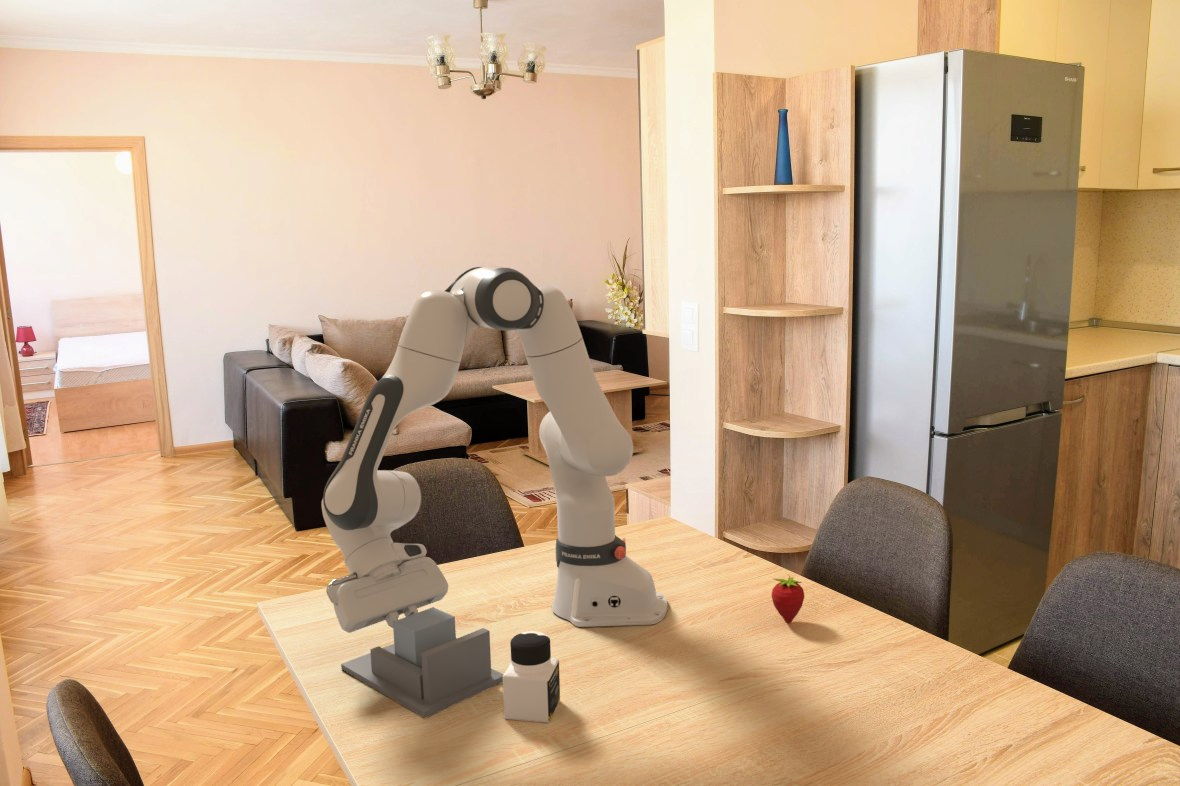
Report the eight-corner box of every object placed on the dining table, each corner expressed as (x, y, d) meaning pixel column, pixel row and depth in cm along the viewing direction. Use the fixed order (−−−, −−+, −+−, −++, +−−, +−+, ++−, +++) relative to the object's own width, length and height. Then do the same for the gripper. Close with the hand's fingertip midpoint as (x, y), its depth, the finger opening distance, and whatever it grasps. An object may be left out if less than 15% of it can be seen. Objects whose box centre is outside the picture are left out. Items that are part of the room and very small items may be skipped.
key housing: (341, 669, 156) (337, 619, 154) (419, 639, 167) (416, 592, 166) (424, 718, 139) (421, 662, 138) (505, 680, 151) (503, 629, 149)
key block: (396, 673, 151) (392, 621, 150) (435, 657, 157) (433, 607, 155) (417, 685, 147) (414, 632, 146) (457, 667, 153) (454, 616, 151)
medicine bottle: (549, 723, 137) (547, 648, 135) (503, 720, 138) (500, 645, 136) (560, 700, 144) (558, 628, 142) (516, 697, 145) (514, 625, 143)
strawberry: (767, 628, 168) (768, 576, 166) (775, 613, 175) (776, 562, 173) (800, 633, 166) (801, 580, 164) (807, 617, 173) (807, 566, 171)
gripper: (328, 573, 150) (364, 647, 145) (431, 542, 164) (467, 608, 159) (316, 592, 154) (351, 665, 148) (417, 560, 168) (453, 625, 163)
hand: (412, 635), depth 154 cm, fingers closed
